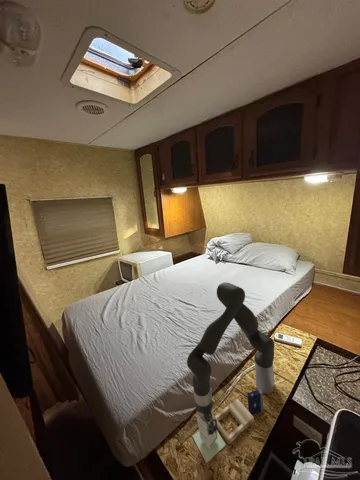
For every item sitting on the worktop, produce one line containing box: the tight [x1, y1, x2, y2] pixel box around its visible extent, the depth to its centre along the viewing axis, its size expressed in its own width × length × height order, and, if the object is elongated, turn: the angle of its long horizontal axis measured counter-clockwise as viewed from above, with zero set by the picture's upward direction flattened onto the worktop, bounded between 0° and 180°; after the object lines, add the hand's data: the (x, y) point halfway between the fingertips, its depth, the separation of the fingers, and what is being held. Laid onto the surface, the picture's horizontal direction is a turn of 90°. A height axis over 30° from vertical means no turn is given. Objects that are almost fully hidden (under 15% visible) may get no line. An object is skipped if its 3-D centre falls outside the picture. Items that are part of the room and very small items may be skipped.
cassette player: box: [247, 389, 265, 416], centre depth 97 cm, size 7×2×12 cm, turn 103°
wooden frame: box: [214, 398, 255, 445], centre depth 95 cm, size 16×11×2 cm, turn 119°
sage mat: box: [192, 429, 227, 464], centre depth 89 cm, size 11×11×1 cm
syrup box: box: [196, 411, 218, 449], centre depth 87 cm, size 6×6×14 cm
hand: (206, 425), depth 87 cm, fingers closed on syrup box, 6 cm apart
